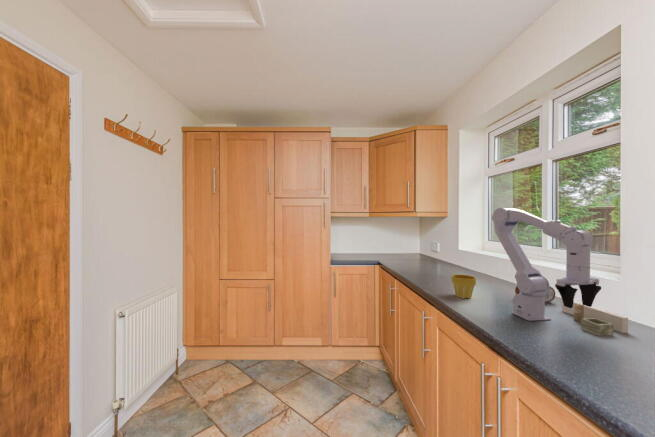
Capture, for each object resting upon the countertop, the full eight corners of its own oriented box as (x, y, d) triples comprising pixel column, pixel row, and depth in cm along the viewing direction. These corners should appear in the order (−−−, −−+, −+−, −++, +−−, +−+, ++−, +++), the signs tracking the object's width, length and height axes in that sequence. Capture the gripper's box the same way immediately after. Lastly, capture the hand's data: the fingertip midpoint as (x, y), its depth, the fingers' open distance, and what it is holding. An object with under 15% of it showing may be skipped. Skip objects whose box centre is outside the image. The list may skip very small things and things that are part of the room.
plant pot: (474, 295, 127) (474, 275, 127) (477, 301, 118) (477, 279, 118) (451, 292, 132) (451, 273, 131) (452, 298, 122) (452, 277, 122)
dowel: (579, 322, 94) (579, 306, 94) (572, 319, 97) (572, 303, 97) (585, 322, 95) (585, 305, 95) (578, 319, 97) (578, 303, 97)
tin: (552, 301, 118) (552, 283, 117) (556, 304, 114) (556, 285, 114) (514, 299, 121) (514, 281, 121) (517, 301, 118) (518, 283, 118)
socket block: (598, 336, 84) (598, 325, 84) (580, 328, 90) (580, 318, 89) (613, 335, 85) (613, 324, 85) (594, 328, 90) (594, 317, 90)
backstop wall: (622, 333, 86) (622, 318, 86) (562, 311, 106) (562, 298, 106) (627, 332, 86) (628, 317, 86) (566, 310, 106) (566, 298, 106)
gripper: (572, 269, 82) (572, 311, 82) (610, 267, 84) (610, 309, 84) (550, 265, 89) (550, 304, 89) (585, 263, 91) (585, 302, 91)
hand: (577, 306), depth 87 cm, fingers open, 7 cm apart
